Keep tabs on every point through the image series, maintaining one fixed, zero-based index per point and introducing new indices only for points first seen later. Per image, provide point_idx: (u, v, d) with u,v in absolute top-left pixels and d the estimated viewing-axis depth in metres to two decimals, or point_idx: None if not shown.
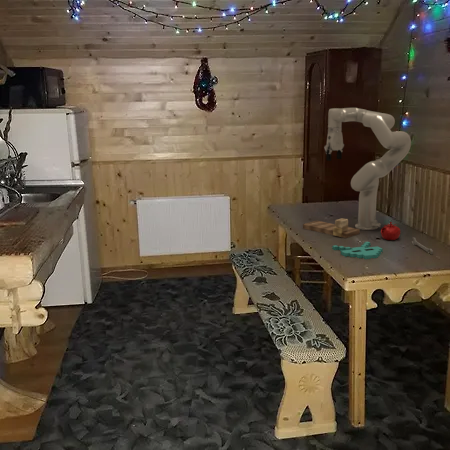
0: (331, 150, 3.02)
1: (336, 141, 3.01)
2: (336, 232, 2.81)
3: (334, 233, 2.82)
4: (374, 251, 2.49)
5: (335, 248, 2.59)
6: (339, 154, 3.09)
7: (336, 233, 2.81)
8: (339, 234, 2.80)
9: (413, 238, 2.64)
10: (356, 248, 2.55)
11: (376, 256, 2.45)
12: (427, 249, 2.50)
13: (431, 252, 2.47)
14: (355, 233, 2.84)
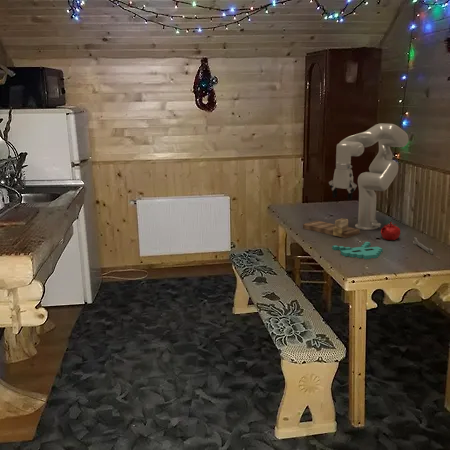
0: None
1: None
2: (336, 232, 2.81)
3: (334, 233, 2.82)
4: (374, 251, 2.49)
5: (335, 248, 2.59)
6: (336, 192, 2.82)
7: (336, 233, 2.81)
8: (339, 234, 2.80)
9: (414, 238, 2.64)
10: (356, 248, 2.55)
11: (376, 256, 2.45)
12: (427, 249, 2.50)
13: (431, 252, 2.47)
14: (355, 233, 2.84)
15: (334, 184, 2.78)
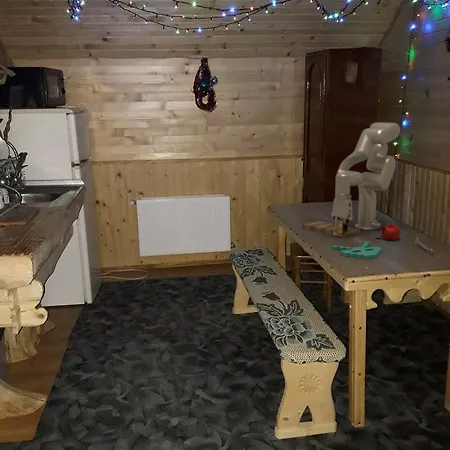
0: (347, 218, 2.80)
1: None
2: (336, 232, 2.81)
3: (334, 233, 2.82)
4: (374, 251, 2.49)
5: (335, 248, 2.59)
6: None
7: (336, 233, 2.81)
8: (339, 234, 2.80)
9: (416, 238, 2.64)
10: (356, 248, 2.55)
11: (376, 256, 2.45)
12: (428, 249, 2.50)
13: (431, 252, 2.47)
14: (355, 233, 2.84)
15: (333, 213, 2.82)
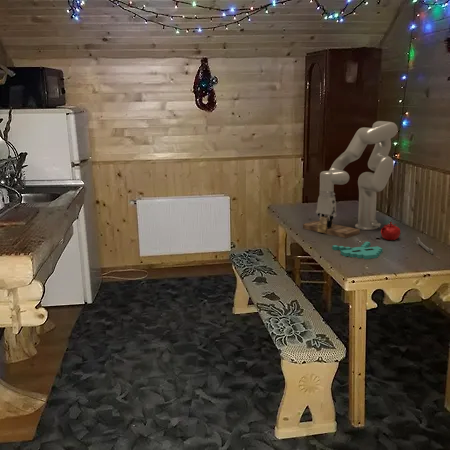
0: (331, 215, 2.88)
1: None
2: (320, 229, 2.89)
3: (319, 230, 2.90)
4: (374, 251, 2.49)
5: (335, 248, 2.59)
6: None
7: (321, 230, 2.89)
8: (323, 231, 2.87)
9: (417, 238, 2.64)
10: (356, 248, 2.55)
11: (376, 256, 2.45)
12: (428, 249, 2.50)
13: (431, 252, 2.47)
14: (355, 233, 2.84)
15: (318, 210, 2.90)
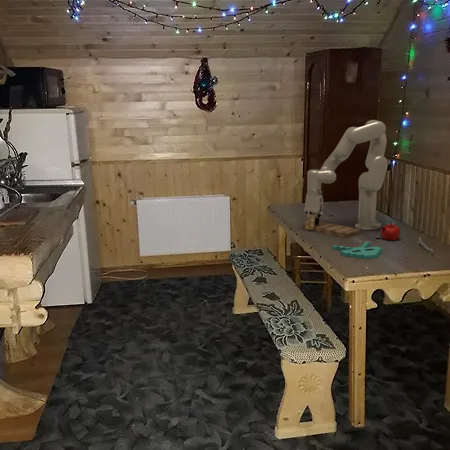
0: (319, 213, 2.94)
1: None
2: (308, 226, 2.95)
3: (306, 227, 2.96)
4: (374, 251, 2.49)
5: (335, 248, 2.59)
6: None
7: (308, 227, 2.95)
8: (311, 228, 2.94)
9: (418, 238, 2.64)
10: (356, 248, 2.55)
11: (376, 256, 2.45)
12: (428, 249, 2.50)
13: (431, 252, 2.47)
14: (355, 233, 2.84)
15: (306, 208, 2.96)
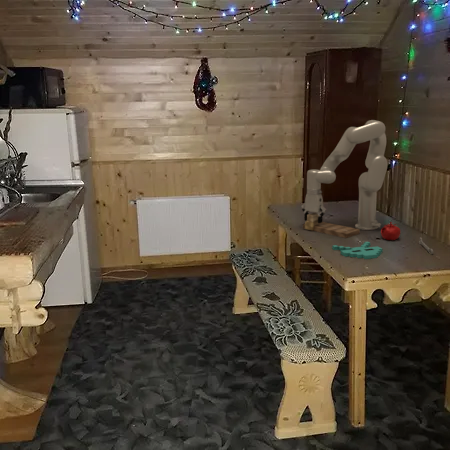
0: None
1: None
2: (308, 226, 2.95)
3: (306, 227, 2.96)
4: (374, 251, 2.49)
5: (335, 248, 2.59)
6: None
7: (308, 227, 2.95)
8: (311, 228, 2.94)
9: (420, 238, 2.64)
10: (356, 248, 2.55)
11: (376, 256, 2.45)
12: (428, 249, 2.50)
13: (431, 252, 2.47)
14: (355, 233, 2.84)
15: (305, 208, 2.97)
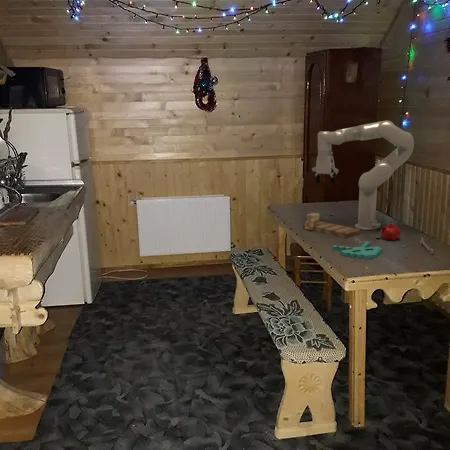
0: None
1: None
2: (308, 226, 2.95)
3: (306, 227, 2.96)
4: (374, 251, 2.49)
5: (335, 248, 2.59)
6: (319, 178, 3.03)
7: (308, 227, 2.95)
8: (311, 228, 2.94)
9: (421, 238, 2.64)
10: (356, 248, 2.55)
11: (376, 256, 2.45)
12: (429, 249, 2.50)
13: (431, 252, 2.47)
14: (355, 233, 2.84)
15: (317, 170, 2.99)
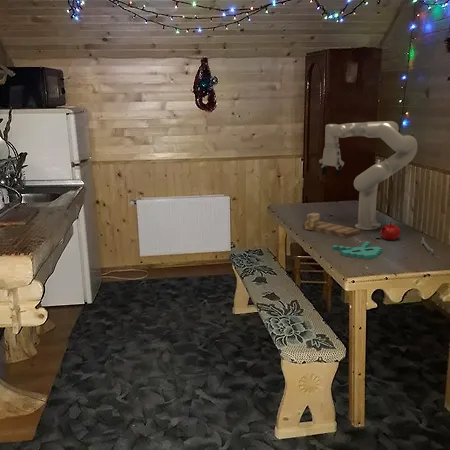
0: (338, 165, 3.01)
1: None
2: (308, 226, 2.95)
3: (306, 227, 2.96)
4: (374, 251, 2.49)
5: (335, 248, 2.59)
6: (325, 170, 3.08)
7: (308, 227, 2.95)
8: (311, 228, 2.94)
9: (422, 238, 2.64)
10: (356, 248, 2.55)
11: (376, 256, 2.45)
12: (429, 249, 2.50)
13: (431, 252, 2.47)
14: (355, 233, 2.84)
15: (323, 162, 3.04)
